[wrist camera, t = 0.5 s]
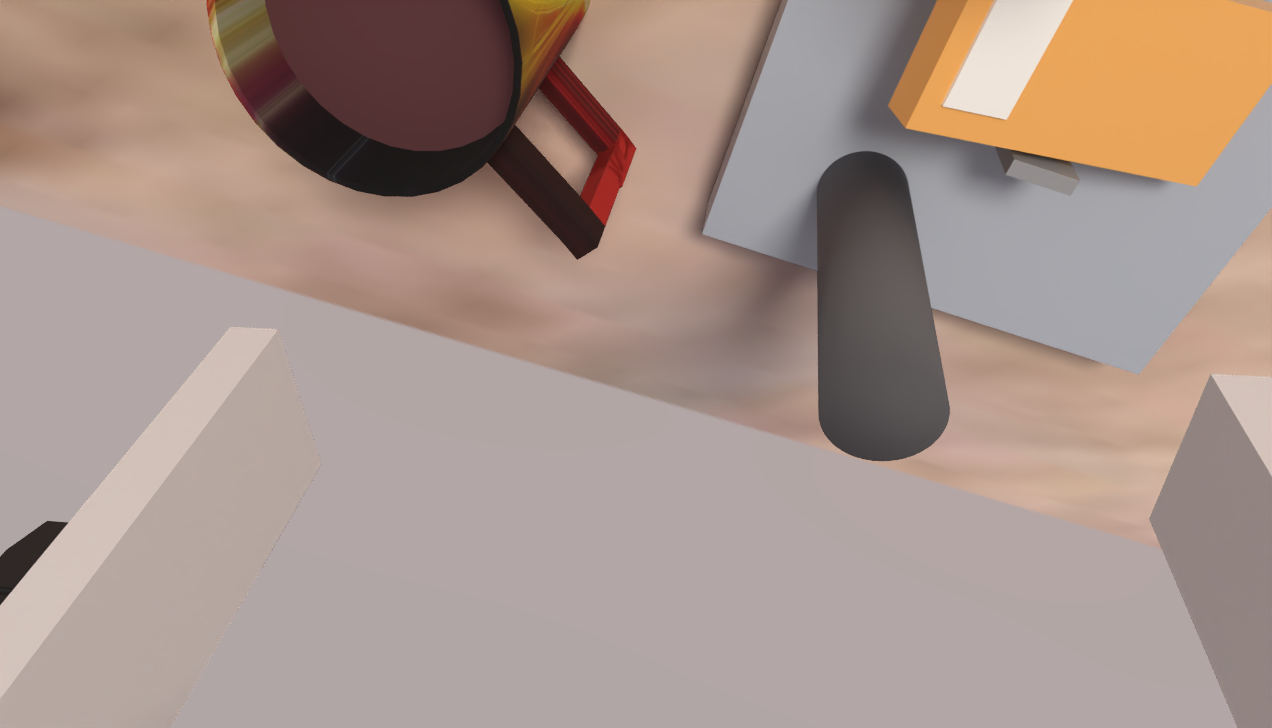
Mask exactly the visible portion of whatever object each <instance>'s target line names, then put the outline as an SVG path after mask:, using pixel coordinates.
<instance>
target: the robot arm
mask: <svg viewBox="0 0 1272 728" xmlns="http://www.w3.org/2000/svg"><path fill="white" fill-rule="evenodd" d="M320 466H321V462H320V458H319V455H318V452H317V449H316V446H315V443H314V439H313V436H312V433H311V430H310V427H309V424H308V421H307V418H306V415H305V411H304V408H303V405H302V402H301V399H300V395H299V392H298V389H297V386H296V383H295V380H294V377H293V373H292V370H291V367H290V364H289V361H288V358H287V355H286V351H285V348H284V345H283V342H282V339H281V336H280V333H279V330H278V329H264V328H242V327H230V328H229V329H228V330H227V332H226V333H225V334H224V335H223V337H222V338H221V339H220V340H219V341H218V343H217V344H216V345H215V346H214V348H213V349H212V350H211V351H210V352H209V354H208V355H207V356H206V357H205V359H203V361H202V362H201V363H200V364H199V366H198V367H197V368H196V369H195V371H194V372H193V373H192V374H191V375H190V376H189V378H188V379H187V380H186V381H185V382H184V384H183V385H182V386H181V388H180V389H179V390H178V391H177V392H176V393H175V395H174V396H173V397H172V398H171V399H170V401H169V402H168V403H167V404H166V405H165V407H164V408H163V409H162V410H161V412H160V413H159V414H158V415H157V416H156V418H155V419H154V420H153V421H152V422H151V424H150V425H149V426H148V427H147V429H146V430H145V431H144V432H143V433H142V435H141V436H140V437H139V438H138V439H137V441H136V442H135V443H134V444H133V445H132V447H131V448H130V449H129V450H128V451H127V453H126V454H125V455H124V456H123V457H122V459H121V460H120V461H119V462H118V463H117V465H116V466H115V467H114V468H113V470H112V471H111V472H110V473H109V474H108V476H107V477H106V478H105V479H104V480H103V482H102V483H101V484H100V485H99V486H98V488H97V489H96V490H95V491H94V493H93V494H92V495H91V496H90V497H89V499H88V500H87V501H86V502H85V504H84V505H83V506H82V507H81V508H80V509H79V511H78V512H77V513H76V514H75V515H74V517H73V518H72V519H71V520H70V522H69V523H66V522H54V521H47V522H45V523H44V524H42V525H41V526H39V527H38V528H37V529H35V530H34V531H33V532H31V533H30V534H28V535H27V536H26V537H24V538H23V539H21V540H20V541H18V542H17V543H16V544H14V545H13V546H11V547H10V548H9V549H7V550H6V551H5V552H4V554H2V556H1V557H0V728H171V726H172V724H173V722H174V721H175V719H176V717H177V716H178V714H179V712H180V710H181V709H182V707H183V705H184V703H185V701H186V700H187V698H188V696H189V695H190V693H191V691H192V689H193V688H194V686H195V684H196V682H197V681H198V679H199V677H200V675H201V674H202V672H203V670H204V668H205V667H206V665H207V663H208V661H209V659H210V658H211V656H212V654H213V653H214V651H215V649H216V647H217V646H218V644H219V642H220V640H221V639H222V637H223V635H224V633H225V632H226V630H227V628H228V626H229V625H230V623H231V621H232V620H233V618H234V616H235V614H236V613H237V611H238V609H239V607H240V606H241V604H242V602H243V600H244V599H245V597H246V595H247V593H248V592H249V590H250V588H251V586H252V584H253V583H254V581H255V579H256V578H257V576H258V574H259V572H260V570H261V569H262V567H263V565H264V564H265V562H266V560H267V558H268V557H269V555H270V553H271V551H272V550H273V548H274V546H275V544H276V543H277V541H278V539H279V538H280V536H281V534H282V532H283V531H284V529H285V527H286V525H287V523H288V522H289V520H290V518H291V516H292V515H293V513H294V511H295V509H296V508H297V506H298V504H299V503H300V501H301V499H302V497H303V496H304V494H305V492H306V490H307V489H308V487H309V485H310V483H311V482H312V480H313V478H314V476H315V475H316V473H317V471H318V469H319V468H320ZM1149 520H1150V522H1151V524H1152V527H1153V529H1154V531H1155V534H1156V536H1157V539H1158V541H1159V543H1160V546H1161V548H1162V550H1163V553H1164V555H1165V557H1166V560H1167V562H1168V564H1169V567H1170V569H1171V572H1172V574H1173V576H1174V579H1175V581H1176V583H1177V586H1178V588H1179V590H1180V593H1181V595H1182V597H1183V600H1184V602H1185V605H1186V607H1187V609H1188V612H1189V614H1190V616H1191V619H1192V621H1193V623H1194V625H1195V628H1196V630H1197V633H1198V635H1199V637H1200V640H1201V642H1202V645H1203V647H1204V649H1205V652H1206V654H1207V656H1208V659H1209V661H1210V663H1211V666H1212V668H1213V670H1214V673H1215V675H1216V678H1217V680H1218V682H1219V685H1220V687H1221V689H1222V692H1223V694H1224V696H1225V699H1226V701H1227V704H1228V706H1229V708H1230V711H1231V713H1232V715H1233V717H1234V720H1235V722H1236V725H1237V727H1238V728H1272V377H1262V376H1242V375H1221V374H1211V375H1210V377H1209V379H1208V382H1207V384H1206V386H1205V389H1204V391H1203V394H1202V396H1201V398H1200V401H1199V403H1198V405H1197V408H1196V410H1195V412H1194V415H1193V417H1192V419H1191V422H1190V424H1189V427H1188V429H1187V431H1186V434H1185V436H1184V438H1183V441H1182V443H1181V445H1180V448H1179V450H1178V452H1177V455H1176V457H1175V459H1174V462H1173V464H1172V467H1171V469H1170V471H1169V474H1168V476H1167V478H1166V481H1165V483H1164V485H1163V488H1162V490H1161V492H1160V495H1159V497H1158V499H1157V502H1156V504H1155V507H1154V509H1153V511H1152V514H1151V516H1150V518H1149Z"/></svg>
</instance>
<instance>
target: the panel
mask: <svg viewBox="0 0 1272 728" xmlns="http://www.w3.org/2000/svg"><path fill="white" fill-rule="evenodd" d="M1263 1H1267V2H1270V3H1272V0H1263ZM936 2H937V0H781V3H780V6H779V9H778V11H777V14H776V17H775V20H774V22H773V25H772V28H771V31H770V33H769V36H768V39H767V42H766V44H765V47H764V50H763V53H762V55H761V58H760V61H759V64H758V66H757V69H756V72H755V75H754V77H753V80H752V83H751V86H750V88H749V91H748V94H747V97H746V99H745V102H744V105H743V108H742V110H741V113H740V116H739V119H738V122H737V124H736V127H735V130H734V133H733V135H732V138H731V141H730V144H729V146H728V149H727V152H726V155H725V157H724V160H723V163H722V166H721V168H720V171H719V174H718V177H717V179H716V182H715V185H714V188H713V190H712V193H711V196H710V199H709V201H708V206H707V211H706V216H705V221H704V226H703V232H702V234H703V235H706V236H709V237H713V238H716V239H719V240H722V241H725V242H728V243H731V244H734V245H737V246H741V247H744V248H747V249H750V250H753V251H756V252H759V253H762V254H765V255H769V256H772V257H775V258H778V259H781V260H784V261H787V262H790V263H793V264H797V265H800V266H803V267H806V268H809V269H812V270H815V271H817V188H818V184H819V181H820V178H821V177H822V175H823V173H824V172H825V170H826V169H827V168H828V167H829V166H830V165H831V164H832V163H833V162H834V161H836V160H837V159H839V158H841V157H843V156H845V155H847V154H850V153H854V152H860V151H872V152H878V153H881V154H884V155H886V156H888V157H890V158H892V159H893V160H894V161H896V162H897V163H898V164H899V165H900V166H901V168H902V169H903V170H904V172H905V174H906V177H907V180H908V185H909V190H910V195H911V201H912V206H913V212H914V217H915V222H916V228H917V233H918V239H919V244H920V250H921V255H922V260H923V266H924V271H925V277H926V282H927V287H928V293H929V298H930V304H931V308H933V309H936V310H940V311H943V312H946V313H949V314H952V315H955V316H958V317H961V318H964V319H968V320H971V321H974V322H977V323H980V324H983V325H986V326H989V327H992V328H995V329H999V330H1002V331H1005V332H1008V333H1011V334H1014V335H1017V336H1020V337H1023V338H1027V339H1030V340H1033V341H1036V342H1039V343H1042V344H1045V345H1048V346H1051V347H1055V348H1058V349H1061V350H1064V351H1067V352H1070V353H1073V354H1076V355H1079V356H1083V357H1086V358H1089V359H1092V360H1095V361H1098V362H1101V363H1104V364H1107V365H1111V366H1114V367H1117V368H1120V369H1123V370H1126V371H1129V372H1132V373H1135V374H1138V375H1139V373H1140V372H1141V371H1142V370H1143V368H1144V367H1145V366H1146V365H1147V363H1148V362H1149V361H1150V360H1151V358H1152V357H1153V356H1154V355H1155V353H1156V352H1157V351H1158V350H1159V348H1160V347H1161V346H1162V345H1163V343H1164V342H1165V341H1166V340H1167V338H1168V337H1169V336H1170V335H1171V333H1172V332H1173V331H1174V330H1175V328H1176V327H1177V326H1178V324H1179V323H1180V322H1181V321H1182V319H1183V318H1184V317H1185V316H1186V314H1187V313H1188V312H1189V311H1190V309H1191V308H1192V307H1193V306H1194V304H1195V303H1196V302H1197V301H1198V299H1199V298H1200V297H1201V296H1202V294H1203V293H1204V292H1205V291H1206V289H1207V288H1208V287H1209V286H1210V284H1211V283H1212V282H1213V281H1214V279H1215V278H1216V277H1217V276H1218V274H1219V273H1220V272H1221V271H1222V269H1223V268H1224V267H1225V266H1226V264H1227V263H1228V262H1229V260H1230V259H1231V258H1232V257H1233V255H1234V254H1235V253H1236V252H1237V250H1238V249H1239V248H1240V247H1241V245H1242V244H1243V243H1244V242H1245V240H1246V239H1247V238H1248V237H1249V235H1250V234H1251V233H1252V232H1253V230H1254V229H1255V228H1256V227H1257V225H1258V224H1259V223H1260V222H1261V220H1262V219H1263V218H1264V217H1265V215H1266V214H1267V213H1268V212H1269V210H1270V209H1271V208H1272V84H1271V85H1270V87H1269V88H1268V89H1267V91H1266V92H1265V93H1264V95H1263V96H1262V98H1261V99H1260V100H1259V102H1258V103H1257V104H1256V106H1255V107H1254V109H1253V110H1252V111H1251V113H1250V114H1249V115H1248V117H1247V118H1246V120H1245V121H1244V122H1243V124H1242V125H1241V126H1240V128H1239V129H1238V131H1237V132H1236V133H1235V135H1234V136H1233V137H1232V139H1231V140H1230V142H1229V143H1228V144H1227V146H1226V147H1225V148H1224V150H1223V151H1222V153H1221V154H1220V155H1219V157H1218V158H1217V159H1216V161H1215V162H1214V164H1213V165H1212V166H1211V168H1210V169H1209V170H1208V172H1207V173H1206V175H1205V176H1204V177H1203V179H1202V180H1201V181H1200V183H1199V184H1198V186H1197V187H1196V186H1191V185H1186V184H1181V183H1176V182H1171V181H1166V180H1161V179H1156V178H1151V177H1146V176H1141V175H1136V174H1131V173H1126V172H1121V171H1116V170H1111V169H1106V168H1101V167H1096V166H1091V165H1086V164H1081V163H1076V162H1071V161H1066V160H1061V159H1056V158H1051V157H1046V156H1041V155H1036V154H1031V153H1026V152H1021V151H1016V150H1011V149H1006V148H1001V147H996V146H991V145H986V144H981V143H976V142H971V141H966V140H961V139H956V138H951V137H946V136H941V135H936V134H931V133H926V132H921V131H916V130H911V129H906V128H905V127H904V126H903V125H902V123H901V122H900V121H899V119H898V118H897V117H896V116H895V114H894V113H893V112H892V110H891V109H890V108H889V107H888V105H889V103H890V100H891V98H892V96H893V94H894V92H895V90H896V88H897V85H898V83H899V81H900V79H901V77H902V75H903V73H904V70H905V68H906V66H907V64H908V62H909V60H910V58H911V55H912V53H913V51H914V49H915V47H916V45H917V43H918V40H919V38H920V36H921V34H922V32H923V30H924V28H925V25H926V23H927V21H928V19H929V17H930V15H931V13H932V10H933V8H934V6H935V4H936Z"/></svg>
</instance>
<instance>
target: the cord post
mask: <svg viewBox="0 0 1272 728" xmlns="http://www.w3.org/2000/svg"><path fill="white" fill-rule="evenodd" d="M817 285H818V408H819V421H820V425H821V428H822V430H823V432H824V434H825V435H826V437H827V438H828V439H829V440H830V441H831V442H832V443H833V444H834V445H835V446H836V447H837V448H839V449H841V450H842V451H844V452H846V453H848V454H850V455H852V456H855V457H858V458H862V459H866V460H872V461H892V460H899V459H903V458H907V457H910V456H913V455H915V454H917V453H919V452H921V451H923V450H925V449H926V448H928V447H929V446H931V445H932V444H933V443H934V442H935V441H936V440H937V439H938V438H939V437H940V436H941V434H942V433H943V431H944V430H945V428H946V426H947V423H948V420H949V414H950V407H949V401H948V396H947V390H946V385H945V379H944V374H943V368H942V363H941V358H940V352H939V347H938V341H937V336H936V331H935V325H934V320H933V314H932V309H931V304H930V298H929V293H928V287H927V282H926V277H925V271H924V266H923V260H922V255H921V250H920V244H919V239H918V233H917V228H916V222H915V217H914V212H913V206H912V201H911V195H910V190H909V185H908V180H907V177H906V174H905V172H904V170H903V169H902V168H901V166H900V165H899V164H898V163H897V162H896V161H894V160H893V159H892V158H890V157H888V156H886V155H884V154H881V153H878V152H872V151H860V152H854V153H850V154H847V155H845V156H843V157H841V158H839V159H837V160H836V161H834V162H833V163H832V164H831V165H830V166H829V167H828V168H827V169H826V170H825V172H824V173H823V175H822V177H821V178H820V181H819V184H818V188H817Z"/></svg>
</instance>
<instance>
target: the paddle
mask: <svg viewBox="0 0 1272 728" xmlns="http://www.w3.org/2000/svg"><path fill="white" fill-rule="evenodd" d="M1271 84H1272V3H1270V2H1267V1H1263V0H937V2H936V4H935V6H934V8H933V10H932V13H931V15H930V17H929V19H928V21H927V23H926V25H925V28H924V30H923V32H922V34H921V36H920V38H919V40H918V43H917V45H916V47H915V49H914V51H913V53H912V55H911V58H910V60H909V62H908V64H907V66H906V68H905V70H904V73H903V75H902V77H901V79H900V81H899V83H898V85H897V88H896V90H895V92H894V94H893V96H892V98H891V100H890V103H889V105H888V107H889V108H890V109H891V110H892V112H893V113H894V114H895V116H896V117H897V118H898V119H899V121H900V122H901V123H902V125H903V126H904V127H905V128H906V129H911V130H916V131H921V132H926V133H931V134H936V135H941V136H946V137H951V138H956V139H961V140H966V141H971V142H976V143H981V144H986V145H991V146H996V147H1001V148H1006V149H1011V150H1016V151H1021V152H1026V153H1031V154H1036V155H1041V156H1046V157H1051V158H1056V159H1061V160H1066V161H1071V162H1076V163H1081V164H1086V165H1091V166H1096V167H1101V168H1106V169H1111V170H1116V171H1121V172H1126V173H1131V174H1136V175H1141V176H1146V177H1151V178H1156V179H1161V180H1166V181H1171V182H1176V183H1181V184H1186V185H1191V186H1196V187H1197V186H1198V184H1199V183H1200V181H1201V180H1202V179H1203V177H1204V176H1205V175H1206V173H1207V172H1208V170H1209V169H1210V168H1211V166H1212V165H1213V164H1214V162H1215V161H1216V159H1217V158H1218V157H1219V155H1220V154H1221V153H1222V151H1223V150H1224V148H1225V147H1226V146H1227V144H1228V143H1229V142H1230V140H1231V139H1232V137H1233V136H1234V135H1235V133H1236V132H1237V131H1238V129H1239V128H1240V126H1241V125H1242V124H1243V122H1244V121H1245V120H1246V118H1247V117H1248V115H1249V114H1250V113H1251V111H1252V110H1253V109H1254V107H1255V106H1256V104H1257V103H1258V102H1259V100H1260V99H1261V98H1262V96H1263V95H1264V93H1265V92H1266V91H1267V89H1268V88H1269V87H1270V85H1271Z"/></svg>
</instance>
